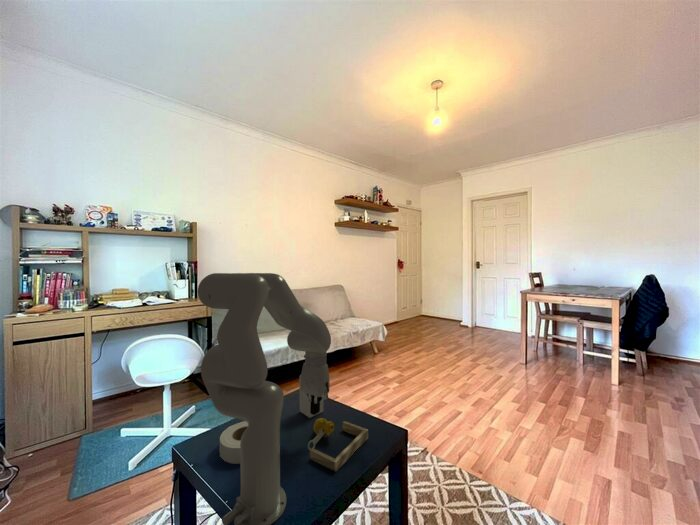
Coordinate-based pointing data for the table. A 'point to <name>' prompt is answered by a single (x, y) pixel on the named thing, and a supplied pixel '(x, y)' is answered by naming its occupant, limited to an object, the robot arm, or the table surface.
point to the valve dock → (346, 453)
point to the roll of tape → (232, 442)
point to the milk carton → (307, 403)
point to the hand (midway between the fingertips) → (315, 412)
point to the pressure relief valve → (321, 430)
